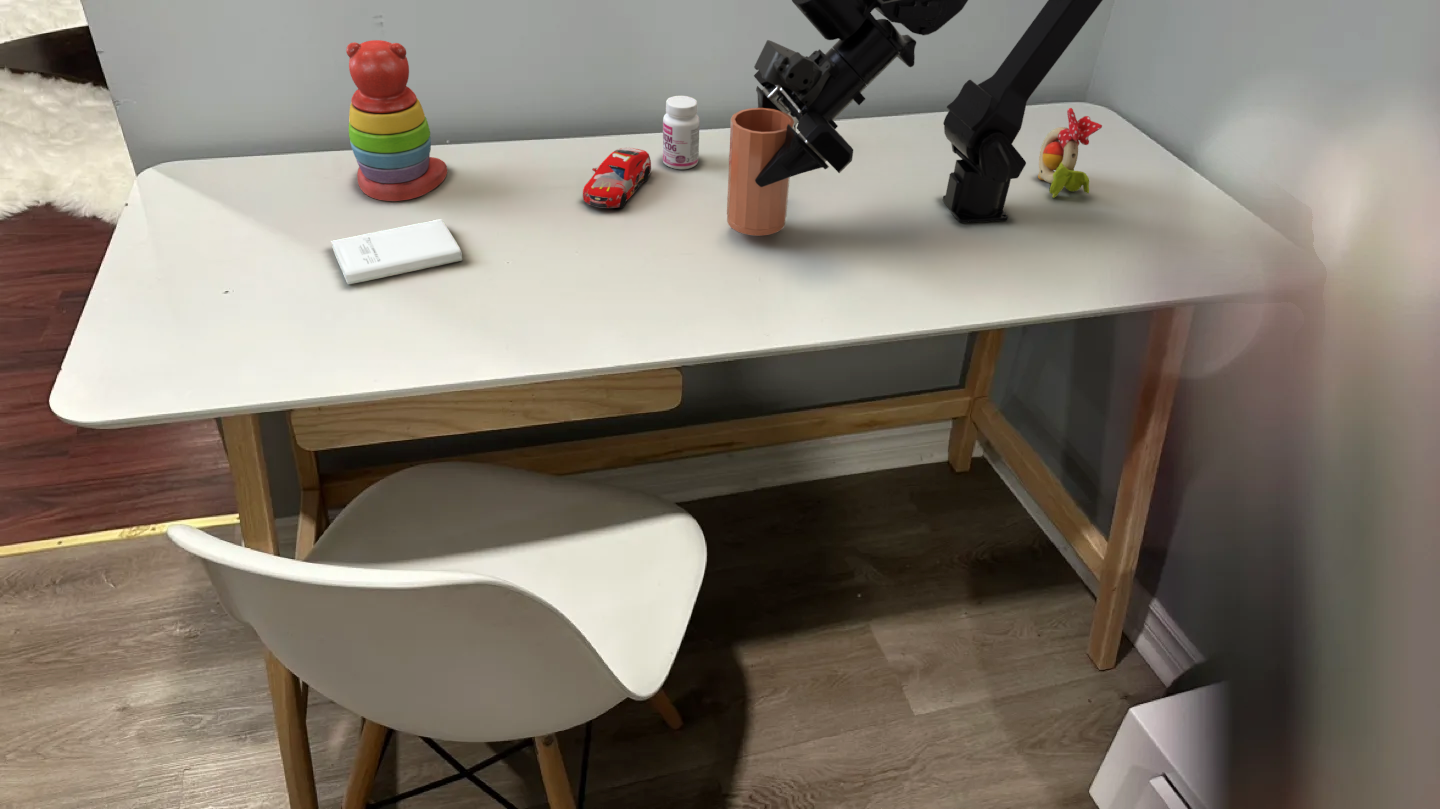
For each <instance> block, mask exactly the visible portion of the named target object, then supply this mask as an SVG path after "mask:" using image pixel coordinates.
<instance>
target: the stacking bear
mask: <svg viewBox="0 0 1440 809" xmlns="http://www.w3.org/2000/svg"><path fill="white" fill-rule="evenodd" d="M345 51H346V56H348V58H349V60H348V69H349V70H348V71H349V74H350V78H351V80H352V82H353V84H354V85H355V86H356V88H357V89H356V90H355V91H354V93H353V94H352V96H351V100H350V101H351V102H350V105H349V111H348V112H349V113H348V119H349V122H348V139H349V142H350V148H351V150H352V153H353V155H354V157H355V159H356V162H357V166H358V169H357V176H356V177H357V184H358V187H359V189H360V190H361V192H363V193H364V194H365V195H367V196H368V197H370V198H372V199H375V200H380V201H387V202H399V201H407V200H412V199H415V198H419V197H421V196H424V195H426V194H428V193H429V192H431V191H433V190H434V189H436V188H438V186H440V184H442V183H443V182H444V180H445V179H446V177H447V174H448V167H447V164H446V162H445V161H444V160H442V159H441V158H438V157H433V156H430V155H431V149H432V138H431V129H430V125H429V122H428V119H427V117H426V115H425V111H424V109H423V106H422V103H421V101H420V100H419V98H418V97H417V95H416V93H415V92H414V91H413V89H411V88H410V87H409V86H407V85H408V82H409V77H410V66H409V61H408V58H407V49H406V48H405V46H403V45H402V44H401V43H399V42H390V41H386V40H381V39H380V40H378V39H372V40H366V41H364V42H361V43H359V42H350V43H348V44H347V47H346V50H345Z"/></svg>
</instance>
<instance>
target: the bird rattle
mask: <svg viewBox="0 0 1440 809" xmlns="http://www.w3.org/2000/svg"><path fill="white" fill-rule="evenodd" d="M1066 112H1067V113H1066V114H1067V119H1068V127H1065V126H1064V127H1063V126H1058V127H1056V128H1053V129H1052V130H1050V131H1049V132H1048V133H1047V134H1046V136H1045V138H1044V139H1043V141H1042V144H1041V146H1040V149H1039V156H1038V175H1037V179H1038V180H1040V181H1045V182H1046V183H1048V184H1050V187H1049V190H1048V191H1049V192H1048V193H1049V194H1052V198H1053V199H1054V198H1056V197H1057V196H1059V194H1060V192H1062V190H1063V189H1064V188H1065V189H1066V190H1067V191H1068V192H1071V193H1072V192H1077V191H1079V190H1080V189H1081V188H1082V190H1083V192H1084V193H1086V194H1090V178H1089V176H1088V175H1087V173H1086V172H1084V171H1081V170H1075V167H1076V165H1077V161H1078V155H1079V145H1080V143H1081V144H1082V145H1083V146H1088V145H1089V144H1090V140H1089V136H1092V135H1093V134H1095V133H1096V132H1098V131H1099V130H1101V129H1102V128H1103V125H1102V124H1101V123H1098V122H1096V121H1093V120H1092V119H1091V117H1090V116H1088V115H1084V116H1082V117H1081V118H1080V119H1078V120H1077V117H1076V114H1075V112H1074V109H1073V107H1069V108H1068V109H1067V111H1066Z"/></svg>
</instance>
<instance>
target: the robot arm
mask: <svg viewBox="0 0 1440 809" xmlns="http://www.w3.org/2000/svg"><path fill="white" fill-rule="evenodd" d="M968 1H969V0H791V2H792V3H793V4H794V6H796V8H797V9H798V10H799V12H801V13H802V15H803V16H804V17H805V18H806V19H807V20H808V21H809V23H810V24H811V25H812V26H813V27H814V29H816V30H817V32H818V33H819V34H820V35H821V36H822V37H823V39H824V40H826V41H834V40H837V41H836V42H835V44H833V45H832V47H831V48H829V50H828V51H827V52H825V53H824V52H823V51H822V49H818V50H814V51H813V52H812V53H811V54H809V56H807V55H805V56H804V55H802V54H801V53H800V52H798V51H795V50H793V49H791V48H788V47H786V46H783V45H781V44H779V43H777V42H775V41H772V40H769V39H767V40H766V42H765V44H764V45H763V48H762V50H761V52H760V54H759V56H758V58H757V59H756V63H754V66H753V68H754V69H755V70H756V71H757V72H756V73H755V74H754V75H753V77H754V79H755V80H756V81H757V82H758V83H759V84H760V85H761V87H762V88H760V87H759V86H758V85H757V86H756V90H755V91H756V93H757V108H768V109H775V110H778V111H781V112H784V113H786V114H788V115H789V114H790V115H791V116H792V117H796V119H797V120H798V122H797V124H796V126H795V125H794V128H795V127H796V131H795V130H794V129H793V128H792V127H791V126H790V125H789V124H788V125H787V130H786V139H785V143H784V144H783V146H782V147H781V148H780V149H779V150H778V152H777V153H776V154H775V155H774V156H773V158H772V159H771V160H770V161H769V162H768V164H767V165H766V166H765V167H764V168H763V170H762V171H761V172H760V174H759V175H758V176H757V178H756V179H755V182H756V183H757V184H758V185H759V186H760V187H764V186H767V185H769V184H772V183H775V182H778V181H780V180H783V179H786V178H789V177H790V178H791V177H795V176H797V175H800V174H804V173H807V172H813V171H814V170H819V169H821V168H823V169H824V170H827V169H828V168H830V166H831V167H832V168H833V169H834V170H835V171H836V172H837V173H838V174H840V173H842V171H844V169H845V168H846V167H847V166H849V164H851V163H852V162H853V156H854V148H853V147H852V146H851V145H850V143H848V142H847V141H846V139H845V138H844V137H843V136H842V135H841V134H840V133H839V132H838V131H837V128H838V127H839V125H838V124H837V123H836V122H835V121H834V120H835V119H836V118H837V117H838V116H839V115H840V114H841V113H842V112H843V111H844V110H846V108H848V106H850V104H852V103H853V101H854V102H855V103H856V104H857V105H858V106H861V104H862V103H863V102H864V101H865V100H866V97H865V96H864V95H863V94H862V92H863V91H864V90H866V88H867V87H868V86H869V85H870V84H872V82H874V81H875V79H877V77H878V76H879V75H881V73H882V72H883V71H884V70H885V69H886V68H888V66H889V65H891V64H892V62H894V61H895V60H896V59H899V60H900V61H901V62H902V63H904V64H905V65H906V66H907V67H908V68H913V67H914V66H915V58H916V54H915V50H916V46H917V40H916V39H914V38H913V37H912V36H911V35H909V34H901V33H900V32H899V30H898V29H897V28H896V27H895V25H893V23H895V24H900V25H902V26H903V27H904V28H906V29H907V30H908V31H910V32H911V33H912V34H916V35H920V36H928V35H931V34H933V33H936V32H937V31H938V30H940V29H942V27H944V26H945V25H946V24H947V23H949V21H951V20H952V19H953V18H954V17H956V16H957V15H958V14H960V12H962V10H964V8H965V7H966V5H967V3H968ZM1103 1H1104V0H1047V1H1046V3H1045V4H1044V5H1043V6H1042V8H1041V10H1040V11H1039V12H1038V14H1037V15H1036V16H1035V18H1034V19H1033V20H1032V22H1031V23H1030V25H1029V26H1028V28H1026V30H1025V31H1024V33H1023V34H1022V36H1021V37H1020V39H1019V40H1018V41H1017V42H1016V44H1015V45H1014V47H1013V48H1012V50H1011V51H1010V52H1009V53H1008V54H1007V55H1006V58H1004V60H1003V61H1002V63H1001V64H1000V66H999V67H998V68H997V70H996V71H995V72H994V73H993V75H991V76H990V77H988V78H987V79H985V80H983V81H981V82H980V83H978V84H977V83H976V82H974V81H973V80H972V79H968V80H967V81H965V83H964V84H963V85H962V88H961V89H960V91H959V93H958V94H957V96H956V98H954V100H953V101H952V102H950V103H949V104H948V105H947V106H946V109H947V110H949V111H948V112H947V113H946V115H945V117H944V120H943V129H944V132H943V133H944V135H945V137H946V138H945V139H946V140H948V141H949V142H950V144H951V149H952V153H953V154H955V155H957V156H958V157H959V158H960V159H956V160H955V163H954V164H955V165H954V170H953V171H952V172H950V173H949V176H948V181H947V186H946V192H945V195H943V196H942V198H941V199H942V201H943V203H944V204H945V205H946V207H947V208H948V210H949V211H950V212H951V214H952V215H953V216H954V217H955V219H956V220H957V222H959V223H962V224H967V223H986V222H1005V221H1008V220H1009V215H1008V213H1007V212H1006V211H1005V210H1004V209H1005V204H1006V201H1007V197H1008V192H1009V189H1010V184H1011V180H1012V179H1018V178H1019V177H1020V175H1021V173H1022V172H1023V170H1024V168H1025V167H1026V165H1027V161H1026V160H1025V158H1024V157H1023V156H1022V155H1021V154H1020V153H1019V151H1018V150H1017V148H1016V147H1015V146H1014V145H1013V143H1014V142H1015V140H1016V138H1017V136H1018V135H1019V133H1020V131H1021V129H1022V126H1023V122H1024V118H1025V117H1024V116H1025V112H1026V107H1027V103H1028V101H1029V99H1030V97H1031V96H1032V95H1033V94H1034V92H1035V91H1036V90H1037V88H1038V87H1039V86H1040V84H1041V83H1042V81H1043V80H1044V79H1045V78H1046V76H1047V75H1048V74H1049V72H1051V70H1052V68H1053V67H1054V66H1055V64H1056V63H1057V62H1058V61H1059V60H1060V58H1061V57H1062V55H1063V54H1064V53H1065V51H1066V50H1067V49H1068V47H1069V46H1070V45H1071V43H1072V42H1073V40H1074V39H1075V38H1076V36H1077V35H1078V34H1079V33H1080V31H1081V30H1082V28H1083V27H1084V26H1085V25H1086V23H1087V22H1088V21H1089V20H1090V19H1091V17H1092V15H1093V14H1094V13H1095V11H1096V10H1097V9H1098V7H1099V6H1100V5H1101V3H1102V2H1103ZM874 10H876V12H878V13H879V14H880V15H882V16H884V18H878V19H876V17H875V16H874V15H873V13H872V12H873V11H874ZM797 130H798V131H797ZM827 163H828V164H829V165H830V166H829V165H828V164H827Z"/></svg>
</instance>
